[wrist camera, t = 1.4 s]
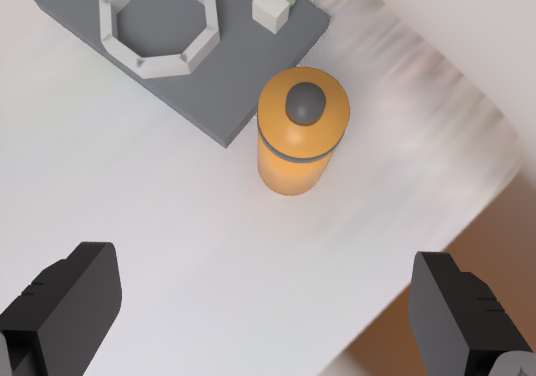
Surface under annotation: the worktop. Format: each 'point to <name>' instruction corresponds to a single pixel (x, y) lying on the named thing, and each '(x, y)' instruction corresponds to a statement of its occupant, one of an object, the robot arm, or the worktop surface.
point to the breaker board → (198, 49)
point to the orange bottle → (299, 128)
